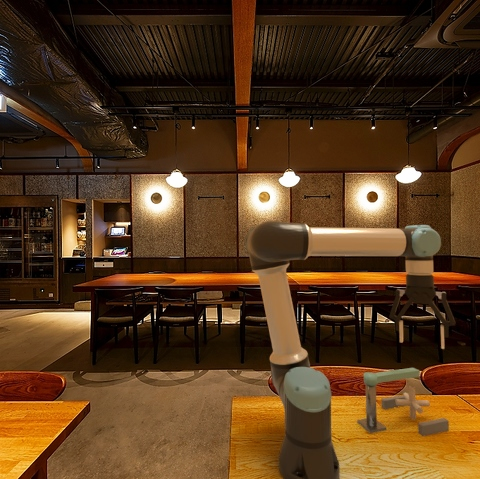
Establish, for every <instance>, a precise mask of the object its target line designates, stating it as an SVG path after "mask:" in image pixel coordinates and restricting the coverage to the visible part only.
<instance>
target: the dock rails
mask: <svg viewBox="0 0 480 479" xmlns="http://www.w3.org/2000/svg"><path fill="white" fill-rule="evenodd" d="M396 399H405V398H404V397H403V396H400V395H396V396H390V397H384V398H380V400H381V403H380V404H381V409H383V410H390V409H389V408H391V409H394V407H396V408H399V407H398V406H402V405H396V402H395V400H396ZM402 407H403V406H402ZM449 422H450V421H449V420H448V419H447V418H445V417H442V418H437V419H433V420H427V421H423V422H418V423H417V428H418V429H417V430H418V433H417V434H419V435H421V437H426V436H429V435H430V436H431V435H435V434H439V433H443V432H449V429H450V425H449Z"/></svg>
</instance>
